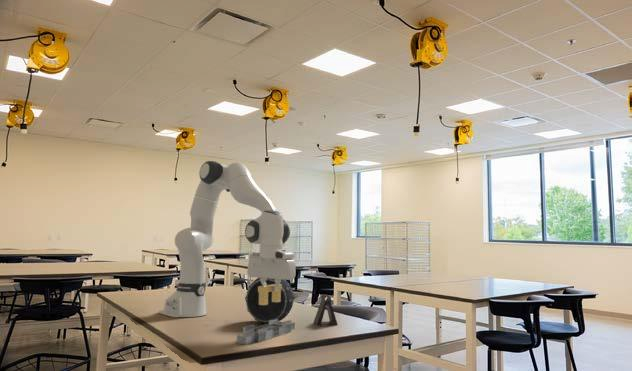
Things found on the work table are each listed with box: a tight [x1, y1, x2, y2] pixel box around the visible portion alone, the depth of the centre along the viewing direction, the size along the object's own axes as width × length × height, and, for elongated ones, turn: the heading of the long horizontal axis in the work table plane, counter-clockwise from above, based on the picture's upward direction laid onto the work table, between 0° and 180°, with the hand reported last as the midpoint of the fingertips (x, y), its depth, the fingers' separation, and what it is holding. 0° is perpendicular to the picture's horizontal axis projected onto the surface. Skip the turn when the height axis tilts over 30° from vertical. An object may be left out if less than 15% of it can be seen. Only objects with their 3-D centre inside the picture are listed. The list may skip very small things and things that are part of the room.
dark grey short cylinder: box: [244, 277, 295, 325], centre depth 179 cm, size 11×20×20 cm, turn 78°
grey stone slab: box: [236, 318, 296, 346], centre depth 156 cm, size 30×7×4 cm, turn 149°
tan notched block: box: [258, 284, 282, 305], centre depth 158 cm, size 11×3×6 cm, turn 150°
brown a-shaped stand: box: [313, 293, 338, 326], centre depth 180 cm, size 9×6×12 cm, turn 103°
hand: (270, 290), depth 158 cm, fingers closed on tan notched block, 3 cm apart
